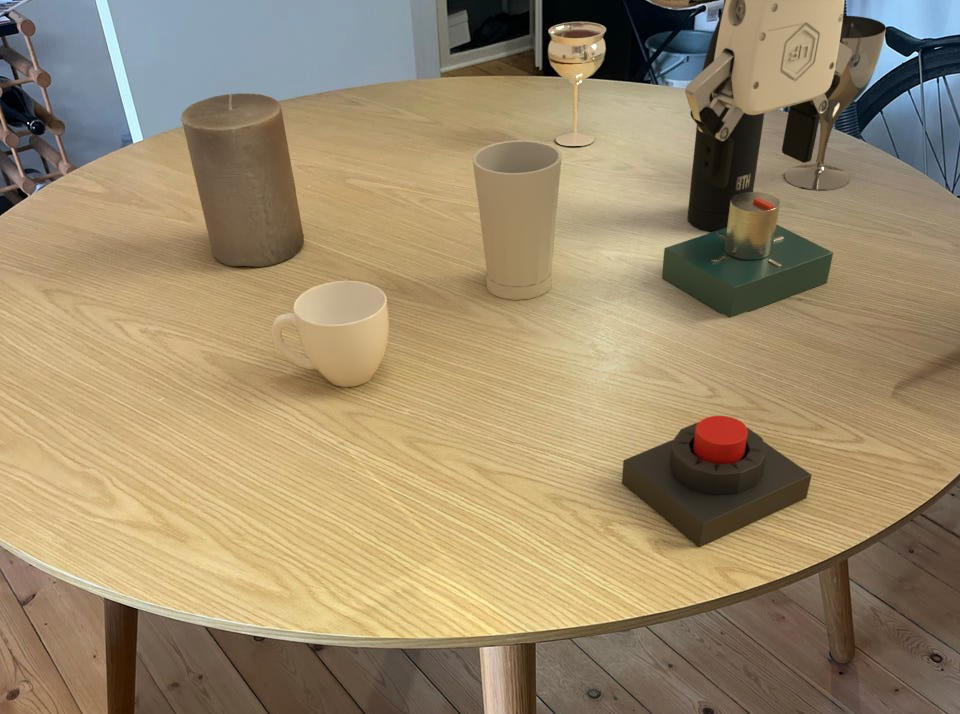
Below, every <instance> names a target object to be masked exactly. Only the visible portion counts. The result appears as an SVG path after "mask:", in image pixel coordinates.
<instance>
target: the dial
mask: <svg viewBox="0 0 960 714" xmlns="http://www.w3.org/2000/svg"><path fill="white" fill-rule="evenodd" d="M780 201H781V200H780V199H779V198H778V197H776V196H775V195H773V194H769V193H767V192H760V191H753V192H745V193H740V194H737V195H735V196H734V197H732V199H731V202H730V209H729V217H728V224H727V232H726V239H725V247H724V249H725V252H726V253H727V254H729V255H730V256H732V257H735V258H738V259H744V260H756V259H762V258H765V257H767V256H769V255H770V254H771V252H772V248H773V242H774V236H775V230H776V224H777V225H778V218H779V213H780V206H781V202H780Z"/></svg>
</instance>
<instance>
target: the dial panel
mask: <svg viewBox="0 0 960 714" xmlns="http://www.w3.org/2000/svg"><path fill="white" fill-rule="evenodd" d="M726 232H727V228H724V229H720V230H717V231H714V232H712V231H710V232H708V233H706V234H703V235H701V236H697V237H694V238H690V239H687V240H684V241H682V242H679V243H675V244H672V245H670V246H667V247H664V249H663V261H662V271H661V278H662V279H663V280H665V281H666V282H668V283H669V284H671V285H673V286H675V287H677V288H678V289H680V290H682V291H683V292H685V293H686V294H688V295H690V296H692V297H693V298H695V299H696V300H698V301H700V302H702V303H703V304H705V305H707V306H708V307H710V308H711V309H713V310H715V311H717V312H718V313H720V314H723V315H724V316H726V317H727V318H729V319H730V318H733V317H736V316H739V315H741V314H745V313H749V312H752V311H754V310H757V309H759V308H763V307H765V306H768V305H771V304H773V303H776V302H779V301H781V300H784V299H787V298H789V297H790V298H791V297H792V296H795V295H798V294H800V293H803V292H806V291H808V290H811V289H814V288H817V287H819V286H822V285H825V284H827V283H828V280H829V276H830V270H831V265H832V261H833V256H834V252H833V251H831V250H829V249H827V248H826V247H823V246H822V245H819V244H817V243H815V242H814V241H811V240H809V239H807V238H805V237H803V236H801V235H799V234H797V233H795V232H793V231H791V230H789V229H788V228H784V227H783V226H781V225H779V224H778V223H777V224H776V230H775V236H774V242H773V248H772V252H771V254H770V255H769V256H767V257H765V258H762V259H756V260H744V259H738V258H735V257H732V256H730V255H729V254H727V253H726V252H725V249H724V247H725V239H726Z"/></svg>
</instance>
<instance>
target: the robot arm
mask: <svg viewBox="0 0 960 714" xmlns="http://www.w3.org/2000/svg"><path fill="white" fill-rule="evenodd" d="M723 7H724V10H723V9H722V11H723V14H722V19H721V24H720V29H719V34H718V39H717V45H716V51H715V57H714V61H713V62H712V63H711V64H710V65H709V66H708V67H707V68H706V69H704V70H703V69H702V70H703V71H702V70H701V71H700V72H699V74H697V76H695V77H694V78H693V79H692V80H691V81H689V83H688V84H687V85H686V86H685V90H684V92H685V93H684V94H685V96H686V100H687V103H688V106H689V109H690V112H689V113H690V114H689V115H690V117H691V119H692V120H693V121H694V123H695V124H696V126H697V125H698V129H699V131H701V132H703V133H704V136H703V144H702V152H701V160H700V168H699V177H700V178H701V179H703V180H705V181H707V182H709V183H711V184H713V185H715V186H716V187H718V188H722V187H726V186H727V184H728V180H729V173H730V166H731V160H732V153H733V146H734V140H733V139H731V138H729V135H730V134H731V132H732V131H733V129H734V127H735V126H736V124H737V123H738V121H739V120H740V118H741V117H742V115H743V114H744V113H746V114H749V115H757V114H762V113H764V114H767V113H770V112H773V111H777V110H781V109H784V108H789V110H788V113H787V119H786V124H785V130H784V135H783V140H782V147H781V153H782V154H784V155H785V156H788V157H790V158H792V159H794V160H796V161H799V162H800V163H803V164H805V163H809V162H811V160H812V157H813V153H814V148H815V143H816V139H817V134H818V129H819V125H820V115H819V114H822V113H824V112H825V111H826V109H827V107H828V99H829V98H830V96H831V95H832V94H833V92H834V91H835V90H836V88H837V87H838V85H839V83H840V75H842V73H843V71H844V69H845V68H846V66H847V64H848V62H849V60H850V58H851V55H852V50H851V49H850V48H848V47H847V46H845V45H844V44H842V43H841V42H840V36H841V28H842V21H843V16H844V12H845V11H844V9H845V0H726V2H725V6H724V5H723ZM711 92H712V97H713V98H714V99H713V101H712V102H711V104H710V99H709V97H710V94H711ZM725 107H727V108H729V110H728V112H727V113H726V115H725V116H724V118H723V120H722V121H721V119H720V118H719V116H720V115H721V113H722V111H723V110H724V108H725Z"/></svg>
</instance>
